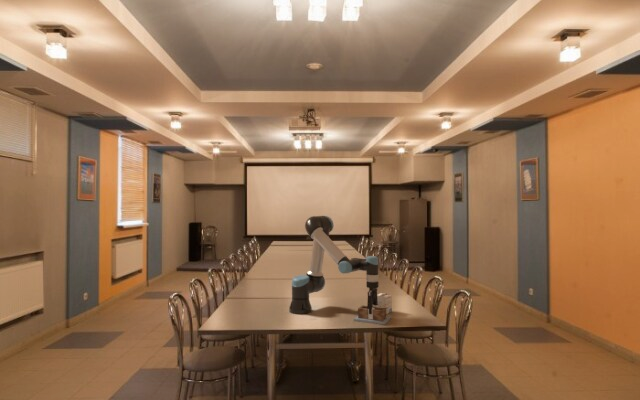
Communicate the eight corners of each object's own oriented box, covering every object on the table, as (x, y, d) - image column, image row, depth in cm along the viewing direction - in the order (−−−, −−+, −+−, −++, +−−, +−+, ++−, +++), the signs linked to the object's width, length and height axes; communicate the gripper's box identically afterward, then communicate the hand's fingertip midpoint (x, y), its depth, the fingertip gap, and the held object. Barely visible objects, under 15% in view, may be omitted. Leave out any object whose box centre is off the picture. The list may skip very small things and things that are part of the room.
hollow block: (386, 317, 267) (386, 308, 267) (383, 320, 260) (383, 311, 260) (361, 314, 273) (362, 305, 273) (358, 318, 266) (358, 308, 266)
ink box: (381, 309, 290) (381, 290, 290) (392, 312, 285) (392, 292, 285) (374, 312, 283) (374, 292, 283) (385, 314, 278) (385, 294, 278)
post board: (353, 320, 264) (353, 309, 264) (360, 315, 277) (360, 304, 277) (385, 324, 256) (385, 312, 256) (390, 318, 269) (390, 307, 269)
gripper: (373, 284, 255) (373, 322, 255) (382, 278, 274) (382, 313, 274) (361, 283, 258) (361, 321, 258) (371, 277, 277) (371, 312, 277)
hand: (372, 317), depth 266 cm, fingers closed on hollow block, 8 cm apart
